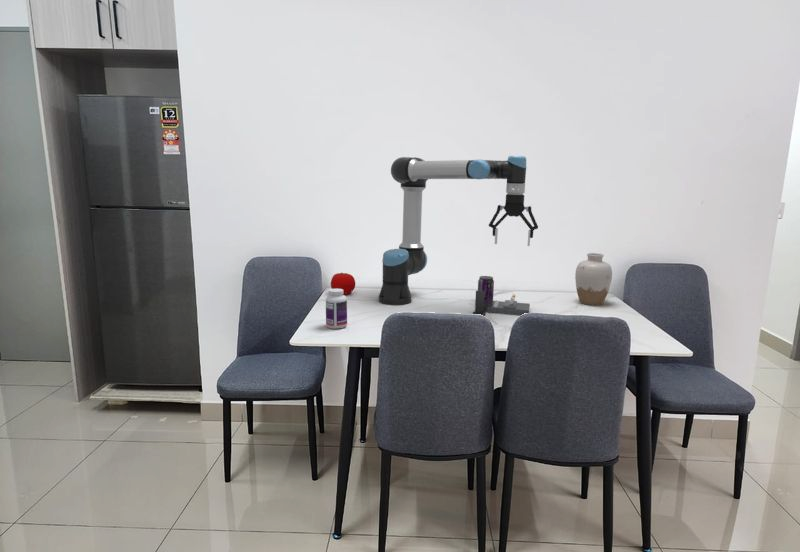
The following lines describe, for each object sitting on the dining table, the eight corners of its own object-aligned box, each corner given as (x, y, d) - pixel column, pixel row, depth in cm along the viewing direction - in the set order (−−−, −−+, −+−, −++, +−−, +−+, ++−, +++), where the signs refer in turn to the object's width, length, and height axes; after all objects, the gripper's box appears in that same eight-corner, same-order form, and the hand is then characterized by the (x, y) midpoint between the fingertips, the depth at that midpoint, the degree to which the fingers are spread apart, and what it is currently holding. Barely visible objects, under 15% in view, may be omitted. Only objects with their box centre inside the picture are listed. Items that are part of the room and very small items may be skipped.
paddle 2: (509, 303, 226) (512, 298, 225) (509, 301, 229) (512, 296, 228) (511, 304, 226) (514, 299, 225) (512, 302, 229) (515, 298, 228)
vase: (577, 297, 258) (581, 250, 253) (612, 301, 250) (616, 253, 245) (569, 304, 244) (573, 254, 240) (605, 309, 236) (610, 258, 232)
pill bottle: (347, 323, 208) (347, 287, 206) (346, 329, 201) (346, 292, 198) (327, 323, 208) (326, 287, 205) (324, 329, 200) (324, 292, 197)
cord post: (472, 315, 223) (473, 292, 221) (473, 312, 228) (474, 289, 226) (484, 316, 221) (485, 293, 219) (486, 313, 226) (487, 290, 224)
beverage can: (492, 305, 240) (493, 279, 238) (476, 304, 242) (477, 278, 239) (493, 301, 247) (494, 276, 245) (477, 300, 248) (478, 275, 246)
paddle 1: (510, 300, 231) (512, 295, 230) (510, 298, 234) (513, 294, 233) (512, 301, 231) (515, 296, 230) (513, 300, 233) (515, 295, 233)
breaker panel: (475, 311, 229) (476, 303, 228) (479, 305, 240) (479, 297, 239) (528, 316, 223) (528, 308, 222) (529, 309, 234) (529, 301, 234)
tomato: (325, 293, 259) (325, 272, 257) (345, 289, 266) (345, 269, 264) (340, 297, 250) (340, 276, 248) (360, 294, 258) (360, 273, 256)
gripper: (483, 193, 221) (481, 244, 225) (546, 195, 214) (542, 247, 219) (486, 192, 228) (483, 241, 232) (546, 194, 221) (542, 245, 226)
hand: (512, 244), depth 225 cm, fingers open, 13 cm apart
